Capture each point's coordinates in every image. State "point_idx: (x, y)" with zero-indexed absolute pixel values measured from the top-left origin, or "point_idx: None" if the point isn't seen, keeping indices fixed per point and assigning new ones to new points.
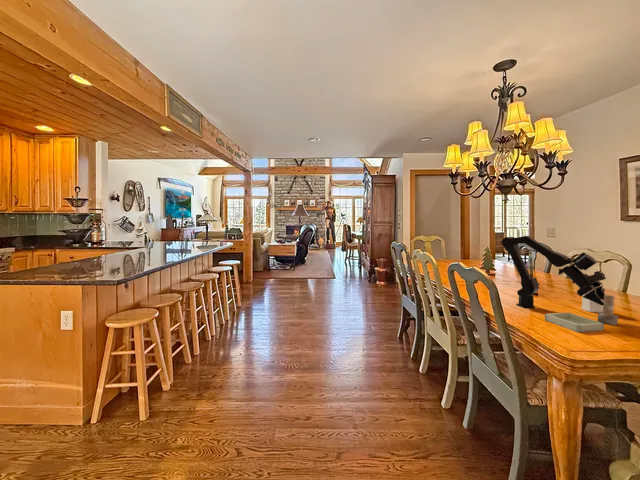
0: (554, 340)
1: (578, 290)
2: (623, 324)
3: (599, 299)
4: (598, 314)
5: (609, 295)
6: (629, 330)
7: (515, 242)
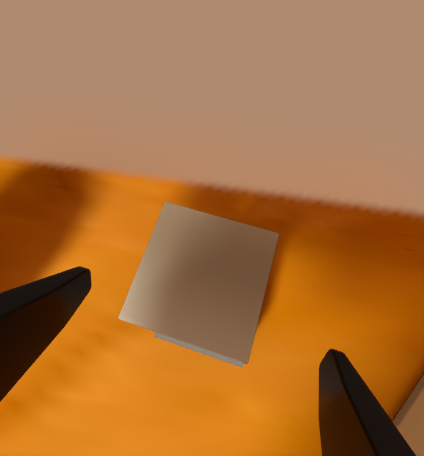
0: None
1: None
2: None
3: (404, 448)
4: (233, 362)
5: (158, 265)
6: (318, 217)
7: None
